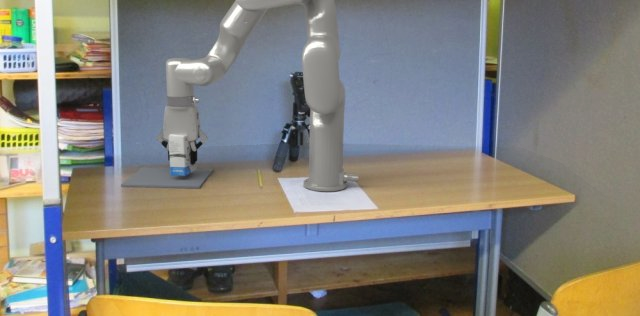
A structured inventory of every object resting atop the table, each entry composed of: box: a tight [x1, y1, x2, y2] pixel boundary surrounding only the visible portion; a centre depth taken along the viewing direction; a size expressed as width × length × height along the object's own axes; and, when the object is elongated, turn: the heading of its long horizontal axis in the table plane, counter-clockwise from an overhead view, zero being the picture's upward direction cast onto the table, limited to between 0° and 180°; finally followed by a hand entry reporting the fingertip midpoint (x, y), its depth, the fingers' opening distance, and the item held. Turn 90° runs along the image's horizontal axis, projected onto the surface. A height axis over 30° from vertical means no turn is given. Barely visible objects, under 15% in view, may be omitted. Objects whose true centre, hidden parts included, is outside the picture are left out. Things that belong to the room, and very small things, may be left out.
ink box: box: [169, 134, 197, 176], centre depth 190 cm, size 9×5×12 cm, turn 169°
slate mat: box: [120, 166, 214, 190], centre depth 192 cm, size 22×20×1 cm
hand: (183, 162), depth 191 cm, fingers closed on ink box, 5 cm apart
